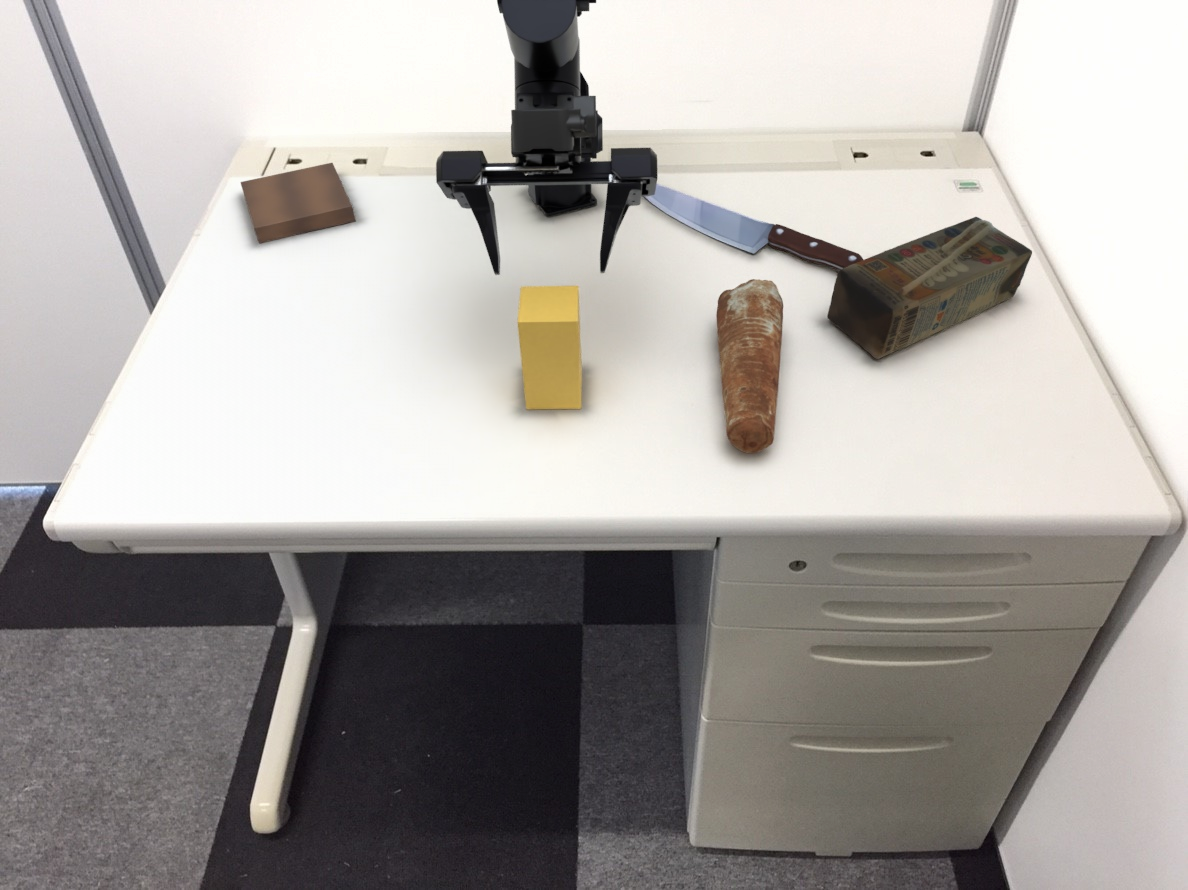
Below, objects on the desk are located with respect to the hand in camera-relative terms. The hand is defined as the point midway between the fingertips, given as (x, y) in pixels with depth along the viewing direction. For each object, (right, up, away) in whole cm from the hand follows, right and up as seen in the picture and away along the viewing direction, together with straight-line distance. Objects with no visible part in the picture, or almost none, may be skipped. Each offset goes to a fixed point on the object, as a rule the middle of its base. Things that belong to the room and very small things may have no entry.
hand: (549, 273), depth 80 cm
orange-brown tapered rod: (+19, -10, +5) cm, 22 cm away
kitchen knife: (+20, +9, +24) cm, 33 cm away
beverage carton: (+37, -2, +12) cm, 39 cm away
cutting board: (-31, +13, +28) cm, 44 cm away
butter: (0, -10, +5) cm, 11 cm away
